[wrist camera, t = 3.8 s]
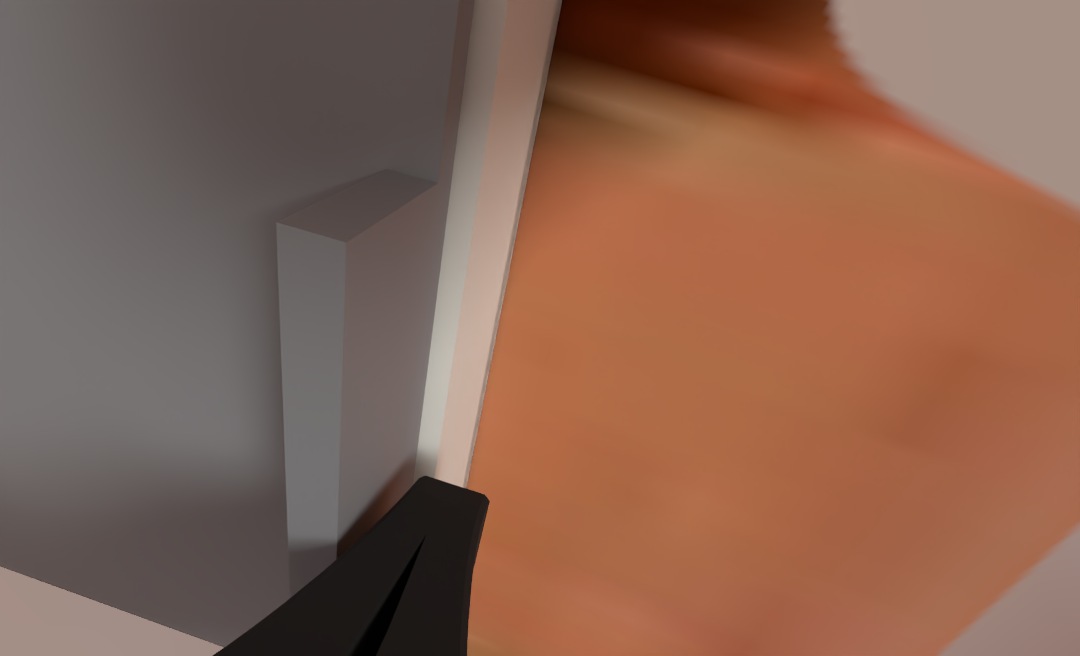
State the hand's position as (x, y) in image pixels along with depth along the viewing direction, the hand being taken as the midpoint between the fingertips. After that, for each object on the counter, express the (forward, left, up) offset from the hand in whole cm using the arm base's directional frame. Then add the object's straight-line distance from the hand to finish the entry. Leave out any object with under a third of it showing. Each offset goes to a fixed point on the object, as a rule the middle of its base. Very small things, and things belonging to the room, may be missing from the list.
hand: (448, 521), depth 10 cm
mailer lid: (0, +8, -1) cm, 9 cm away
